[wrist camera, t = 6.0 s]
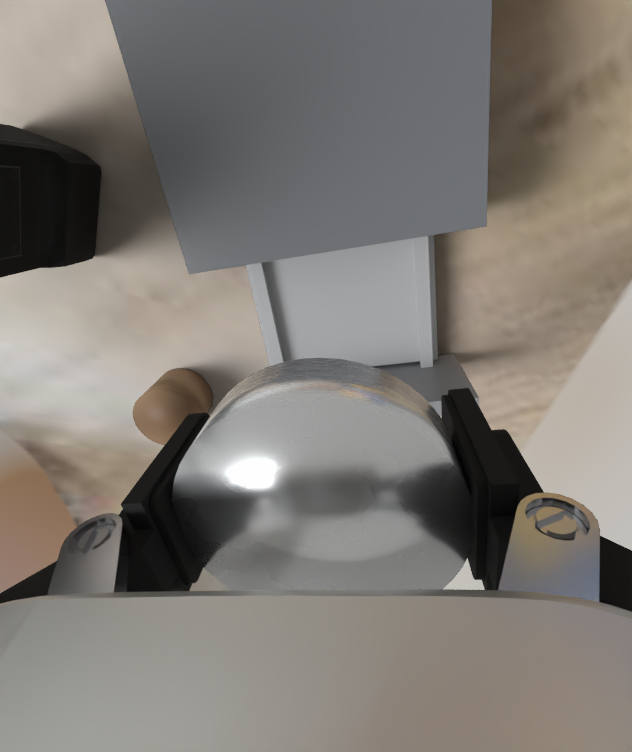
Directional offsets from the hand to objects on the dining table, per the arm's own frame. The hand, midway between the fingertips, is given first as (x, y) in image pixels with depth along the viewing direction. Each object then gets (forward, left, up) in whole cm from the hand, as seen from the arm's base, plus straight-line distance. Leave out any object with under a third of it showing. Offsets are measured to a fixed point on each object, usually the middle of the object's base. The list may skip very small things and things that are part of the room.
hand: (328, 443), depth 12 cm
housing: (+11, 0, -17) cm, 20 cm away
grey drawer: (+1, 0, -16) cm, 16 cm away
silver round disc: (0, 0, +1) cm, 1 cm away
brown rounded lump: (-6, +14, -17) cm, 22 cm away
